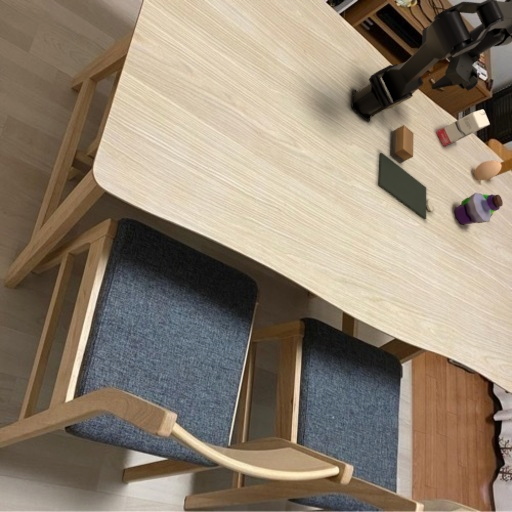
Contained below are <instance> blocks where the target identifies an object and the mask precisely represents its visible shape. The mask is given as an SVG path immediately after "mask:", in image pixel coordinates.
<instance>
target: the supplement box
mask: <svg viewBox="0 0 512 512" xmlns="http://www.w3.org/2000/svg"><path fill="white" fill-rule="evenodd" d="M500 163H501V170H500V171H499V173H498V174H497V175H496V176H494V177H498V176H499V175H502V174H505V173H508V172H510V171H512V157H511V158H509V159H505V160H504V161H500ZM494 177H493V178H494Z"/></svg>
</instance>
